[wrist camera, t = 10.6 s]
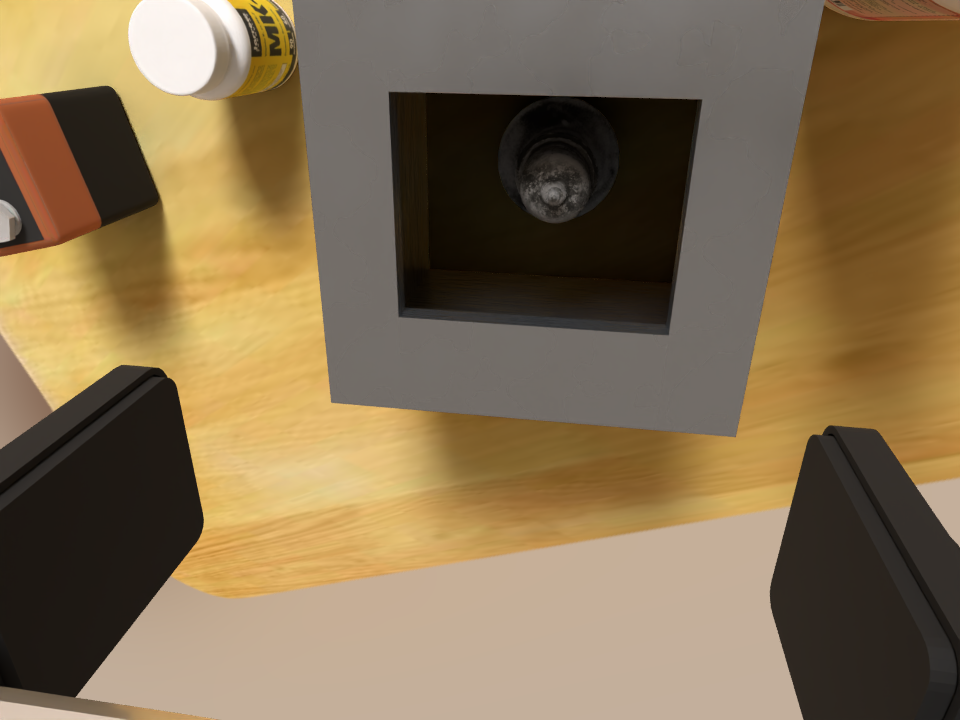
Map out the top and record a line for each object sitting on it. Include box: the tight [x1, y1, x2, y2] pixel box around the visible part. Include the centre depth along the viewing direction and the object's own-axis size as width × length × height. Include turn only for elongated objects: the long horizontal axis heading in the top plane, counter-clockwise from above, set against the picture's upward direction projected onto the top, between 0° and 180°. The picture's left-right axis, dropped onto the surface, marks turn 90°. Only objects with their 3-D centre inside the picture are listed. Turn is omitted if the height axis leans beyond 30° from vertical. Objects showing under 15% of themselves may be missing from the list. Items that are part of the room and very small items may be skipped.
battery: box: [0, 86, 158, 257], centre depth 36 cm, size 4×7×10 cm, turn 12°
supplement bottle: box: [128, 0, 298, 100], centre depth 33 cm, size 5×5×8 cm
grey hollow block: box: [292, 0, 825, 437], centre depth 30 cm, size 16×16×14 cm
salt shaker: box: [498, 96, 620, 223], centre depth 31 cm, size 6×6×12 cm
